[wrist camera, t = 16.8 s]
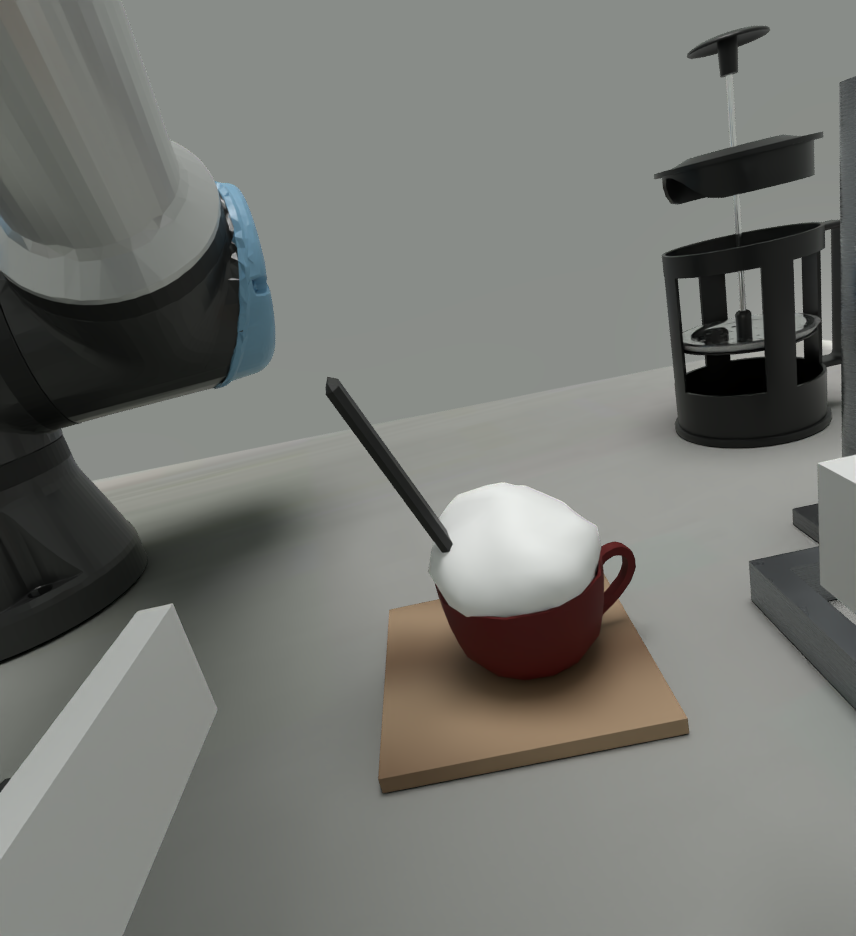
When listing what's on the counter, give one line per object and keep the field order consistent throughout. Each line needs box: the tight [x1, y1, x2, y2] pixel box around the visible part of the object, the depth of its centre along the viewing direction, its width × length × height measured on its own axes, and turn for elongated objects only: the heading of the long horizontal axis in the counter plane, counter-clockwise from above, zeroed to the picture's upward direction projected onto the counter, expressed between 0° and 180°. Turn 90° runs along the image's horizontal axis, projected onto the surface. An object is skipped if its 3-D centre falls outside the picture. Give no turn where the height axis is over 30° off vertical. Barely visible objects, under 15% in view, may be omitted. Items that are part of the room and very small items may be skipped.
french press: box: [654, 26, 841, 448], centre depth 39 cm, size 12×9×23 cm
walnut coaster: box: [378, 575, 689, 793], centre depth 25 cm, size 10×10×1 cm
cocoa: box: [326, 377, 636, 680], centre depth 23 cm, size 10×6×12 cm, turn 77°
